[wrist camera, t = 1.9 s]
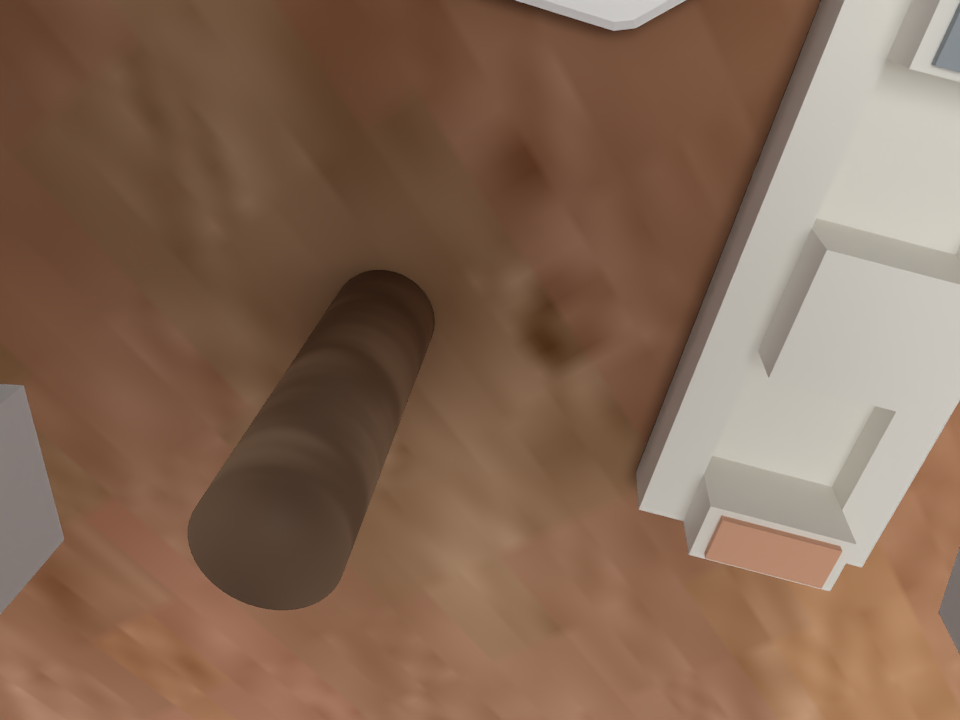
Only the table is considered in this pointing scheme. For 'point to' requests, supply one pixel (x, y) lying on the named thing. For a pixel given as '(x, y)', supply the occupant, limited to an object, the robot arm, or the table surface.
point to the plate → (608, 11)
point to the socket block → (826, 308)
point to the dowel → (315, 450)
